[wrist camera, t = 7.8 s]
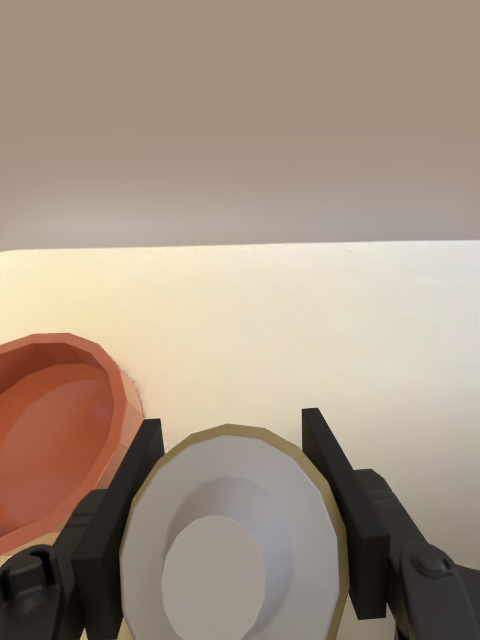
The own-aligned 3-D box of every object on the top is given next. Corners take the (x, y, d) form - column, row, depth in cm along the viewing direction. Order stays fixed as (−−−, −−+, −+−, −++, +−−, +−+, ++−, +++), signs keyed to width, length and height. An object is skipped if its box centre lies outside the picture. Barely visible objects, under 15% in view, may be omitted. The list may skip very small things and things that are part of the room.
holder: (123, 336, 26) (105, 309, 23) (164, 491, 20) (147, 486, 16) (-40, 394, 23) (-88, 374, 20) (-53, 595, 17) (-127, 614, 14)
